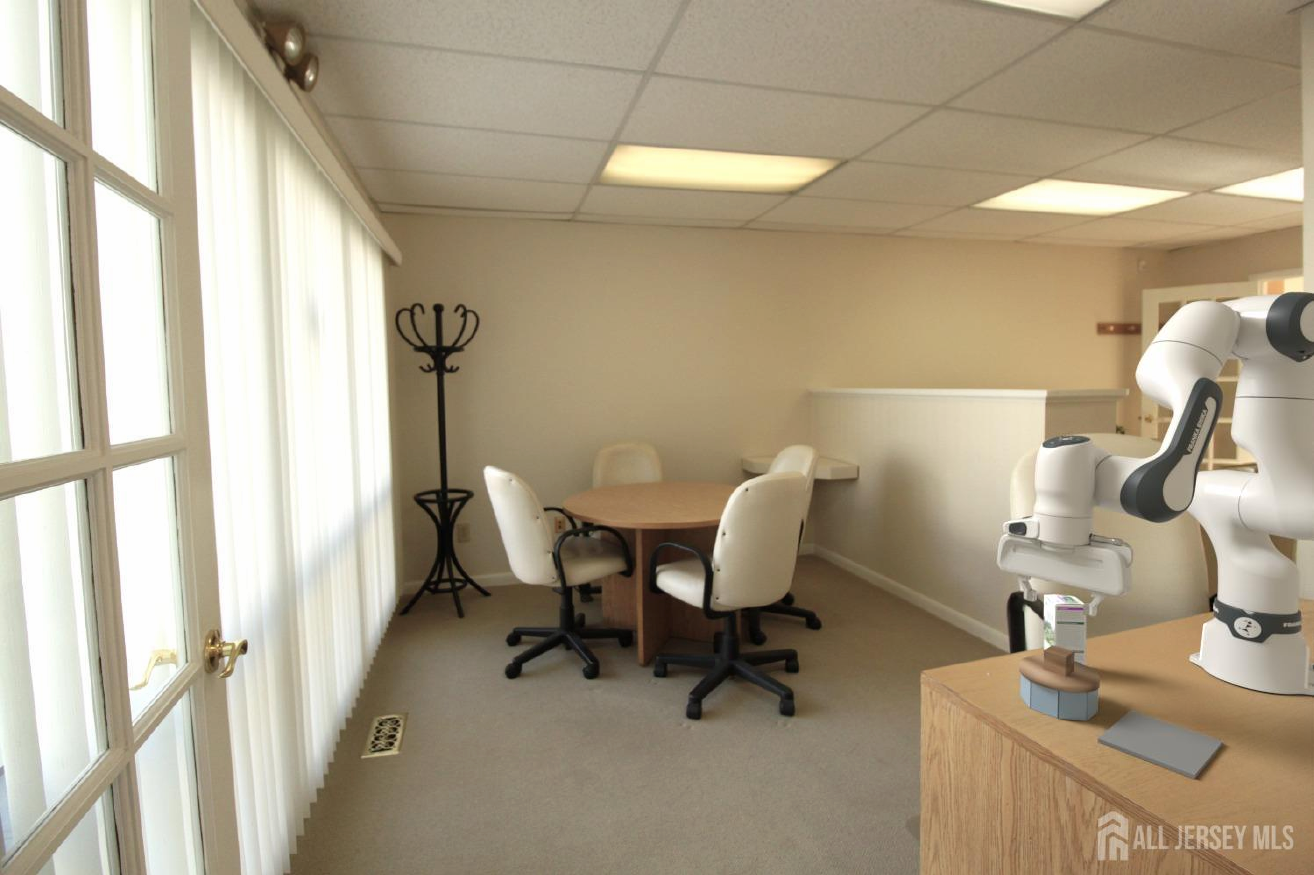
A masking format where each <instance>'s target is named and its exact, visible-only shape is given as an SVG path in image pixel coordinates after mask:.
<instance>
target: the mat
mask: <svg viewBox="0 0 1314 875" xmlns="http://www.w3.org/2000/svg"><path fill="white" fill-rule="evenodd" d="M1097 743H1100V744H1103V745H1105V746H1107V747H1111V748H1112V749H1115V750H1117V751H1120V752H1122V753H1126V754H1128V755H1131V756H1133V757H1135V758H1139V759H1141V760H1144V761H1147V762H1149V763H1151V764H1154V765H1156V764H1158V765H1157V766H1159V767H1161V768H1164V767H1165V768H1164V769H1167V770H1170V771H1172V772H1175V771H1176V773H1177V772H1179V773H1178V774H1180V773H1181V774H1180V775H1182V774H1183V776H1185V777H1188V778H1190V779H1193V780H1195V779H1196V778H1197V777H1198V776H1199V775H1200V773H1202V771H1203V769H1204V768H1205V767H1206V766H1207V763H1208V764H1209V762H1210V761H1211V760H1212V759H1213V758H1212V757H1215V755H1216V754H1217V753H1218V752H1219V750H1220V749H1221V748H1222V747H1223V746H1224V740H1221V739H1218V738H1215V737H1213V736H1212V737H1211V736H1209V735H1206V734H1202V733H1201V732H1197V731H1194V730H1191V729H1188V728H1185V727H1183V726H1182V727H1181V726H1179V725H1177V724H1173V723H1171V722H1167V721H1165V720H1162V719H1158V718H1155V717H1152V716H1150V715H1147V714H1144V713H1141V712H1138V711H1135V710H1129V711H1128V712H1127V713H1126V714H1124V715H1123V716H1122V717H1121V718H1120V719H1119V720H1118V721H1117V722H1115V723H1114V724H1113V725H1112V726H1111V727H1109V728H1108V729H1107V730H1106V731H1104V732H1103V733H1102V734H1101V735H1100V736H1099V737H1098V738H1097Z"/></svg>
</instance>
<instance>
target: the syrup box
mask: <svg viewBox="0 0 1314 875" xmlns="http://www.w3.org/2000/svg"><path fill="white" fill-rule="evenodd" d="M1084 604H1085V603H1084V602H1083V601H1081V600H1080V599H1079V598H1077V597H1076V596H1075V595H1072V594H1060V593H1059V594H1056V593H1054V594H1044V595H1043V651H1044V650H1045V649H1047V648H1049V647H1050V646H1052V645H1054V646H1058V647H1061V648H1064V649H1068V650H1071V651H1075V655H1074V661H1076V662H1079V663H1081V664H1084V665H1086V666H1087V615H1084V614H1083V610H1084V609H1083V605H1084Z"/></svg>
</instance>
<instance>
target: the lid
mask: <svg viewBox="0 0 1314 875" xmlns="http://www.w3.org/2000/svg"><path fill="white" fill-rule="evenodd" d="M1074 655H1075V651H1071V650H1068V649H1064V648H1061V647H1058V646H1054V645H1052V646H1050V647H1049V648H1047V649H1045V650H1044V649H1043V655H1030V656H1026V657H1024V658H1022V659H1021V660H1019V670H1018V671H1019V672H1020V675H1021V674H1022V675H1023V676H1024V677H1025V678H1026V679H1028V680H1029V681H1031V682H1033V683H1035V684H1038V685H1040V686H1043V687H1046V688H1049V689H1053V690H1057V691H1063V692H1070V693H1088V692H1093V691H1096V690H1097V689H1098V690H1099V688H1100V687H1101V676H1100V674H1099V673H1098V672H1097V671H1096V670H1095V669H1093V668H1092V667H1090V666H1088V665H1087V664H1086V665H1084V664H1081V663H1079V662H1076V661H1074Z"/></svg>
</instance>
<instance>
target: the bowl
mask: <svg viewBox="0 0 1314 875" xmlns="http://www.w3.org/2000/svg"><path fill="white" fill-rule="evenodd" d="M1019 684H1020V685H1019V686H1020V689H1019V690H1020V691H1019V692H1020V693H1019V694H1020V695H1019V696H1020V698H1021V699H1022V701H1024V702H1025V704H1026V705H1027V706H1028V708H1030V709H1032V710H1034V711H1036V712H1038V713H1042V714H1045V715H1047V716H1049V717H1052V718H1055V719H1059V720H1072V721H1089V720H1090V719H1091V718H1092V717H1094V716H1095V715H1096V714H1097V713H1099V710H1098V709H1099V688H1098V689H1097V690H1096V691H1093V692H1088V693H1070V692H1063V691H1057V690H1053V689H1049V688H1046V687H1043V686H1040V685H1038V684H1035V683H1033V682H1031V681H1029V680H1028V679H1026V678H1025V677H1024V676H1023V675H1022V674H1021V673H1020V683H1019ZM1094 714H1095V715H1094ZM1093 715H1094V716H1093Z"/></svg>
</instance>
